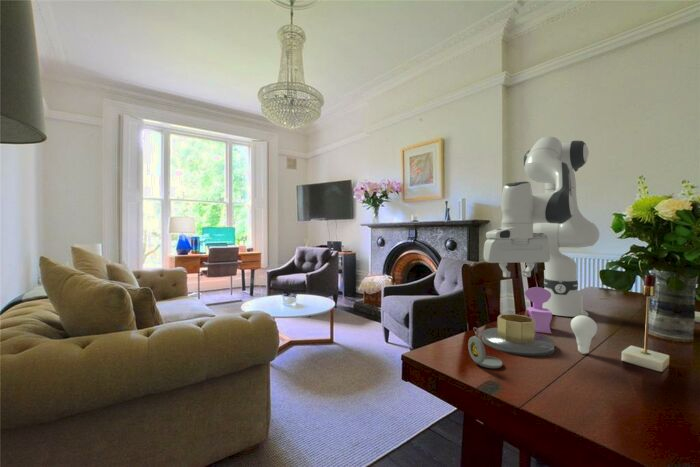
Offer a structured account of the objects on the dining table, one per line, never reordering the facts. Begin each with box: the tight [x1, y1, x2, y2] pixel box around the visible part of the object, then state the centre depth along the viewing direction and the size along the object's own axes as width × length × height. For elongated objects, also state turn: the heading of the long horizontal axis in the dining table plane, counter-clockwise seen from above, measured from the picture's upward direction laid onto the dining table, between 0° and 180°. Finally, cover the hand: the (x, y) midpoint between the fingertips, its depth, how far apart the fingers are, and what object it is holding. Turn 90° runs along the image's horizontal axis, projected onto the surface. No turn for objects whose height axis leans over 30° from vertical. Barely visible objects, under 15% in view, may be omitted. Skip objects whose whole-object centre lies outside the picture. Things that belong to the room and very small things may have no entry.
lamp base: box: [481, 313, 555, 357], centre depth 96 cm, size 20×20×8 cm
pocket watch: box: [467, 327, 503, 369], centre depth 81 cm, size 8×8×10 cm
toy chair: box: [524, 286, 553, 334], centre depth 110 cm, size 8×9×15 cm
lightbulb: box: [570, 315, 598, 355], centre depth 88 cm, size 6×6×11 cm
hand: (516, 276), depth 96 cm, fingers open, 5 cm apart
